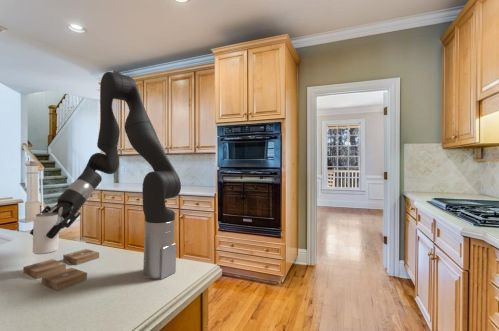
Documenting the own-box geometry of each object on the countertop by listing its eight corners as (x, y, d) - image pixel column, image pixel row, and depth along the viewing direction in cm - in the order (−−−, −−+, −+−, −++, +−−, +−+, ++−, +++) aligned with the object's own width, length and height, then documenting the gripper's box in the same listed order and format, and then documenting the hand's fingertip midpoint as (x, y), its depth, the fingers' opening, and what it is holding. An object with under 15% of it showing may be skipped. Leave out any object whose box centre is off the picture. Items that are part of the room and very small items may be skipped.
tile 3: (99, 257, 95) (99, 252, 95) (76, 264, 88) (76, 259, 88) (85, 254, 98) (86, 248, 98) (63, 260, 91) (63, 254, 91)
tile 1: (86, 279, 77) (87, 272, 77) (57, 290, 70) (57, 283, 70) (71, 273, 81) (71, 267, 81) (41, 283, 73) (41, 276, 73)
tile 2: (65, 269, 84) (65, 263, 84) (36, 278, 76) (36, 272, 77) (52, 264, 87) (52, 258, 87) (23, 273, 80) (23, 266, 80)
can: (29, 255, 78) (31, 216, 78) (35, 249, 83) (37, 212, 83) (55, 253, 81) (57, 215, 81) (60, 247, 86) (61, 211, 86)
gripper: (54, 187, 91) (15, 227, 80) (85, 189, 87) (49, 232, 76) (68, 200, 96) (32, 239, 85) (98, 202, 92) (65, 244, 81)
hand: (40, 235), depth 80 cm, fingers closed on can, 6 cm apart
